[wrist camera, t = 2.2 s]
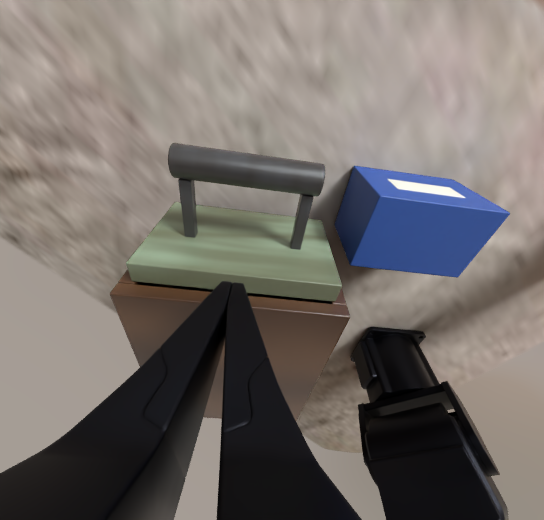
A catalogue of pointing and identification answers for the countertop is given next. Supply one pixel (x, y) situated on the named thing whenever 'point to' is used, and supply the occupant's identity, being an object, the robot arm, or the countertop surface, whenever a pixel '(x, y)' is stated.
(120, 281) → the cabinet
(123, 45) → the countertop surface
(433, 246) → the block
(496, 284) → the countertop surface
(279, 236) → the drawer
